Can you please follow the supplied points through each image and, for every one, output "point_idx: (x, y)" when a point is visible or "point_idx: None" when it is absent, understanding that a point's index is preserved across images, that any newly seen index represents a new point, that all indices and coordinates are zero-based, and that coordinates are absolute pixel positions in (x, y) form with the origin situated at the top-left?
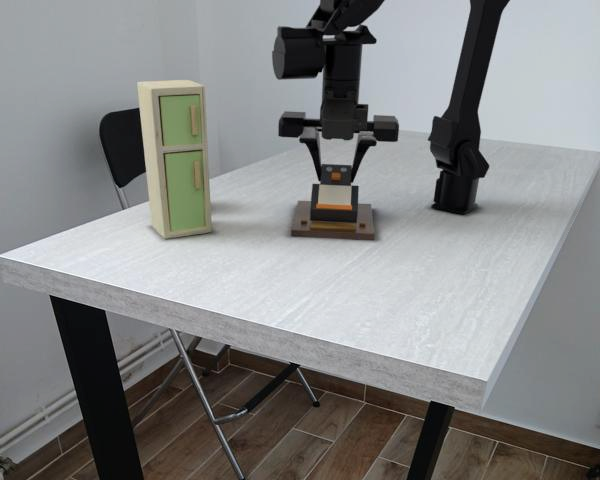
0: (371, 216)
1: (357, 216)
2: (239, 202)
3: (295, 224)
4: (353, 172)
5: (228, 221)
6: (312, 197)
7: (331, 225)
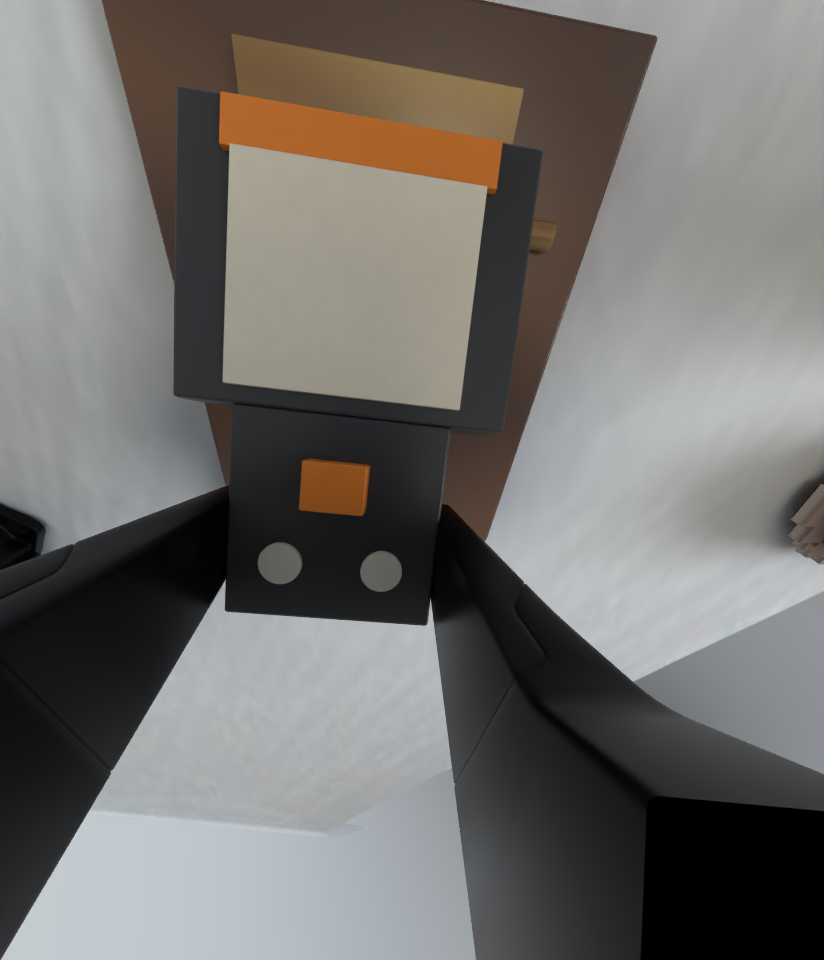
0: None
1: None
2: (654, 552)
3: (589, 190)
4: (194, 509)
5: (815, 351)
6: (517, 279)
7: (389, 118)
